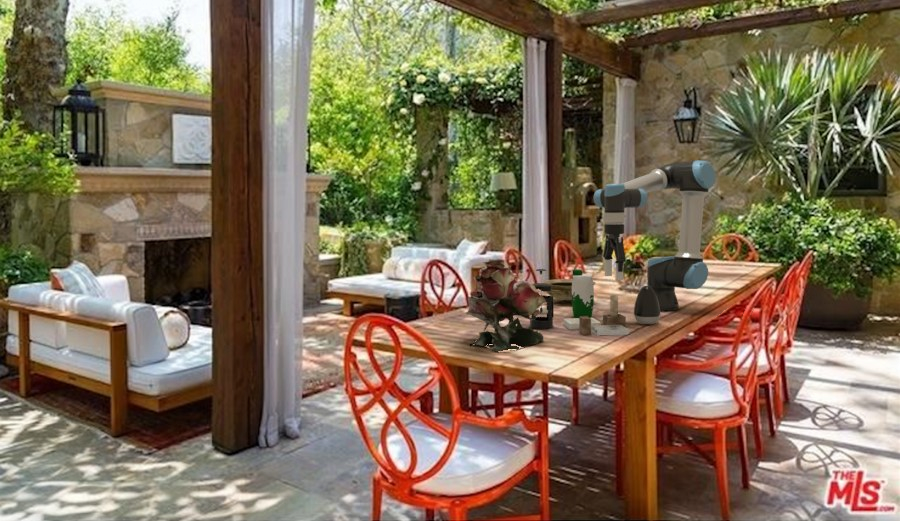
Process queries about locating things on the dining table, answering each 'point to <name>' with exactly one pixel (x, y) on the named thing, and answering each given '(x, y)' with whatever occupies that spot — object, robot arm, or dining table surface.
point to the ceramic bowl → (561, 289)
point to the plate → (609, 330)
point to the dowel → (613, 305)
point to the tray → (577, 323)
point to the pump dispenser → (647, 306)
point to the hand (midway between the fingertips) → (613, 278)
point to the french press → (543, 321)
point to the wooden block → (585, 325)
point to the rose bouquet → (504, 306)
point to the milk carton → (582, 294)
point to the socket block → (614, 320)
